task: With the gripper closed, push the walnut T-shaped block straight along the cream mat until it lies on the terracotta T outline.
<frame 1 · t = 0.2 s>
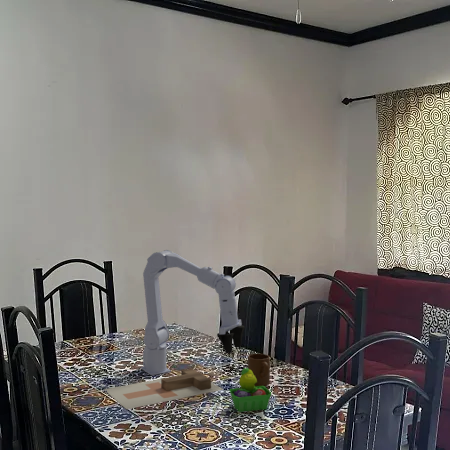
hand: (233, 350, 198), 10 cm above the table, tool pointing down, fingers open, 7 cm apart
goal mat: (147, 392, 185), on the table
mug: (260, 386, 192), on the table
t block: (182, 385, 191), resting on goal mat
fruit basket: (249, 407, 173), on the table
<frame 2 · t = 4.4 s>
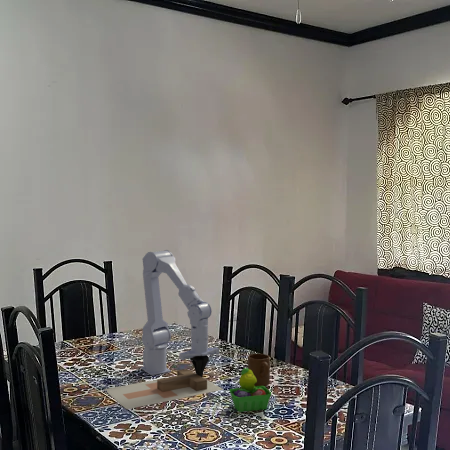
hand: (199, 377, 195), 2 cm above the table, tool pointing down, fingers closed
t block: (178, 386, 191), resting on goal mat, touching gripper
everything else where it was.
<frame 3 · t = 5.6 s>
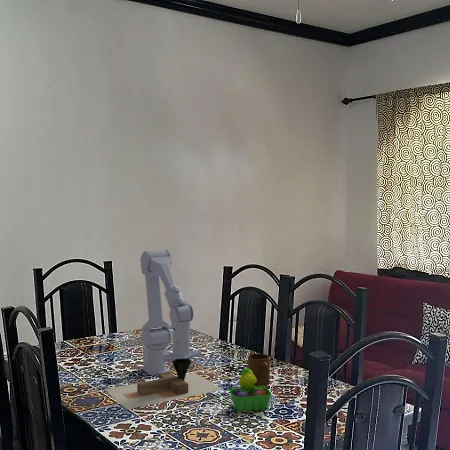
hand: (181, 380, 191), 2 cm above the table, tool pointing down, fingers closed
t block: (159, 390, 187), resting on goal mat, touching gripper
everything else where it was.
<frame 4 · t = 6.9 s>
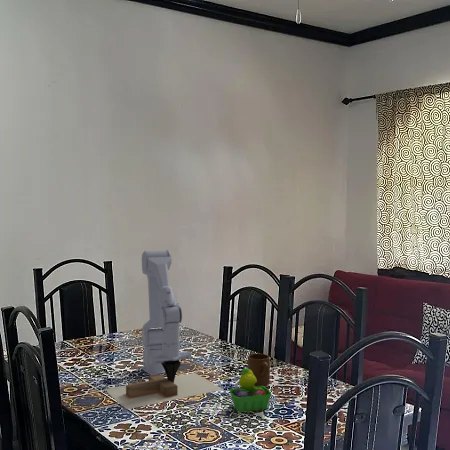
hand: (170, 382, 189), 2 cm above the table, tool pointing down, fingers closed
t block: (148, 392, 185), resting on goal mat, touching gripper
everything else where it was.
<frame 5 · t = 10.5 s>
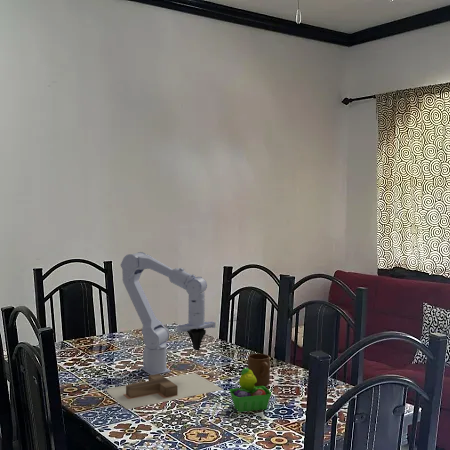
hand: (196, 349, 201), 9 cm above the table, tool pointing down, fingers closed
t block: (148, 392, 185), resting on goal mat
everything else where it was.
at the end: t block 0.6 cm off-centre on the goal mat, point 0.0 cm above the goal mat's base; t block tilted 0° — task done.
